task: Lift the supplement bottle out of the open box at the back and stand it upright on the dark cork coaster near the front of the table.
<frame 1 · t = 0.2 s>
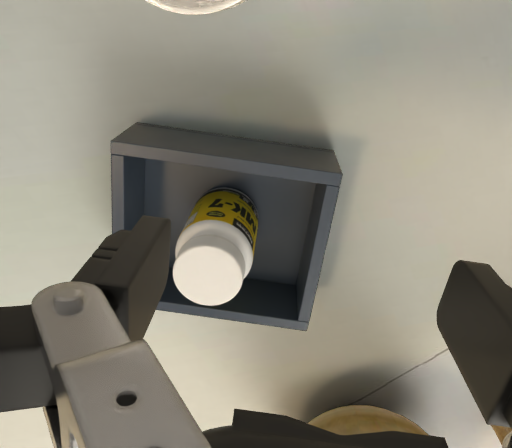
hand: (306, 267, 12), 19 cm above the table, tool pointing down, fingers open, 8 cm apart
supplement bottle: (226, 214, 32), resting on open box
sprinkles bottle: (510, 407, 39), on the table
open box: (226, 213, 32), on the table
decorative ball: (353, 425, 41), on the table
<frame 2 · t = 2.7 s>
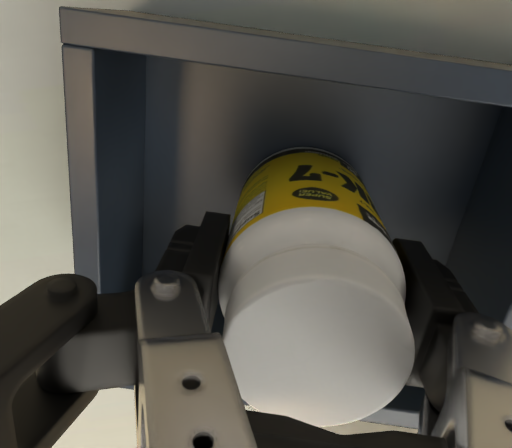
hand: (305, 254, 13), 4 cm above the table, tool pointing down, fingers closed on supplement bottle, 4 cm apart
supplement bottle: (301, 202, 17), resting on open box, touching gripper
open box: (301, 199, 17), on the table
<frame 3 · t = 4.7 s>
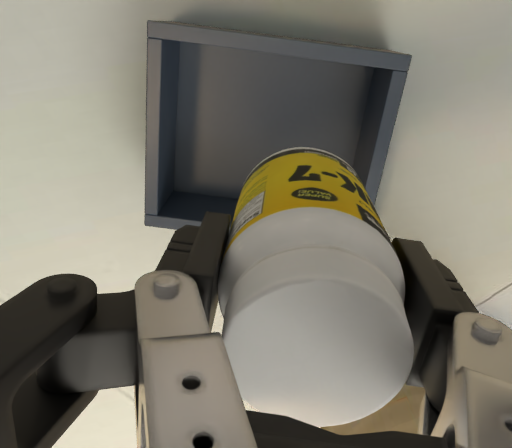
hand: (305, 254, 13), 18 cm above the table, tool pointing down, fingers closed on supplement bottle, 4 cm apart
supplement bottle: (301, 203, 17), point 14 cm above the table, touching gripper
open box: (267, 129, 29), on the table
decorative ball: (398, 380, 38), on the table
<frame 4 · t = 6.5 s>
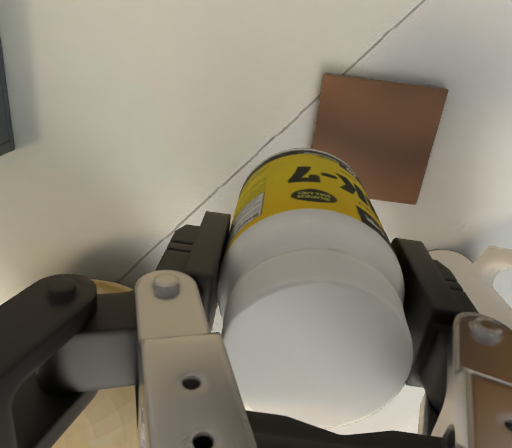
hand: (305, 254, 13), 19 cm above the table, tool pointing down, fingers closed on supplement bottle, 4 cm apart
supplement bottle: (300, 204, 17), point 15 cm above the table, touching gripper
mug: (447, 266, 34), on the table
coaster: (371, 141, 30), on the table
decorative ball: (118, 318, 38), on the table
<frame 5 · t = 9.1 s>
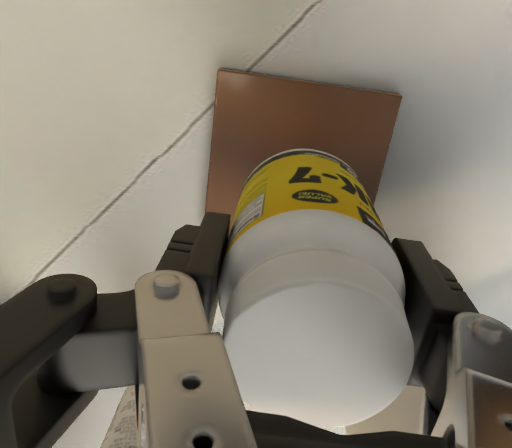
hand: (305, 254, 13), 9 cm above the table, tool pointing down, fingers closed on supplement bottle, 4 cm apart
supplement bottle: (301, 204, 17), point 5 cm above the table, touching gripper
sprinkles bottle: (177, 358, 27), on the table
mug: (406, 336, 25), on the table
coaster: (294, 167, 21), on the table
when the fingers open (4 cm above the table, at t = 10.6 s): supplement bottle stays where it is, resting on coaster.
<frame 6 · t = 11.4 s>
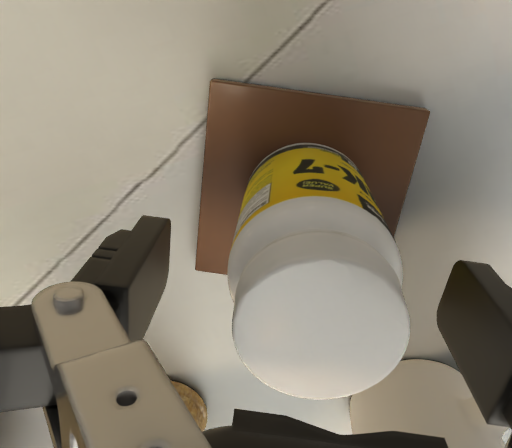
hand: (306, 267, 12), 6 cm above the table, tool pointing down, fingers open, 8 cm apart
supplement bottle: (304, 196, 18), resting on coaster
sprinkles bottle: (167, 403, 24), on the table
mug: (428, 381, 22), on the table
coaster: (301, 193, 18), on the table
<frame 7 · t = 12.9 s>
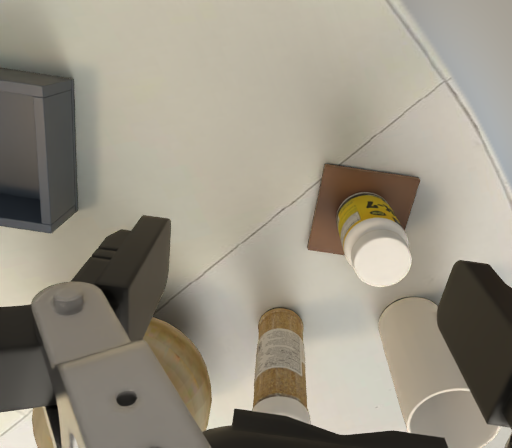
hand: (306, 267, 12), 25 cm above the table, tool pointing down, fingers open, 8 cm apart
supplement bottle: (362, 215, 38), resting on coaster
sprinkles bottle: (280, 323, 44), on the table
mug: (420, 309, 42), on the table
coaster: (360, 213, 39), on the table
decorative ball: (150, 343, 46), on the table
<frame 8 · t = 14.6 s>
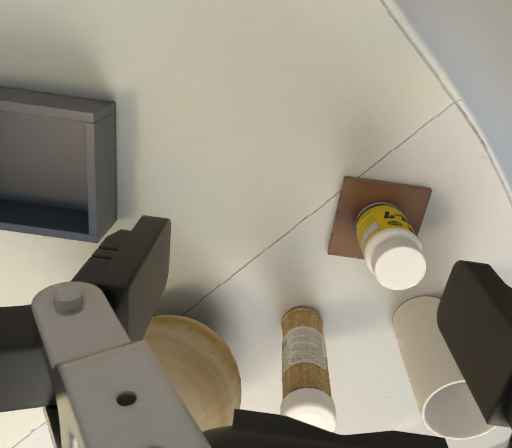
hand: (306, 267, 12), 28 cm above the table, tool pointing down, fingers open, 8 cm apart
supplement bottle: (378, 222, 42), resting on coaster
sprinkles bottle: (301, 321, 48), on the table
mug: (430, 307, 46), on the table
coaster: (376, 221, 42), on the table
open box: (44, 154, 41), on the table
decorative ball: (181, 340, 50), on the table
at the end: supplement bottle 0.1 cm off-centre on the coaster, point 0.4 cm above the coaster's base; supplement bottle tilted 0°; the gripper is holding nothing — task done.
